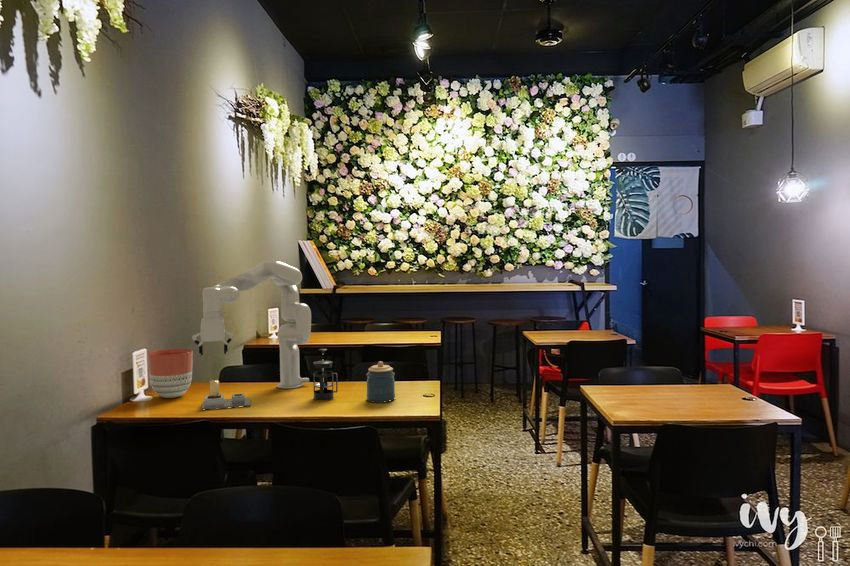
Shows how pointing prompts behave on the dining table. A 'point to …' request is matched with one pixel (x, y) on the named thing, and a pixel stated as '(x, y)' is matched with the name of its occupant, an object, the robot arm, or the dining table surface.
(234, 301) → the robot arm
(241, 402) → the manifold
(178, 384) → the planter
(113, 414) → the dining table surface
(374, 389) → the canister
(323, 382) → the french press
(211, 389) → the tan cylinder
